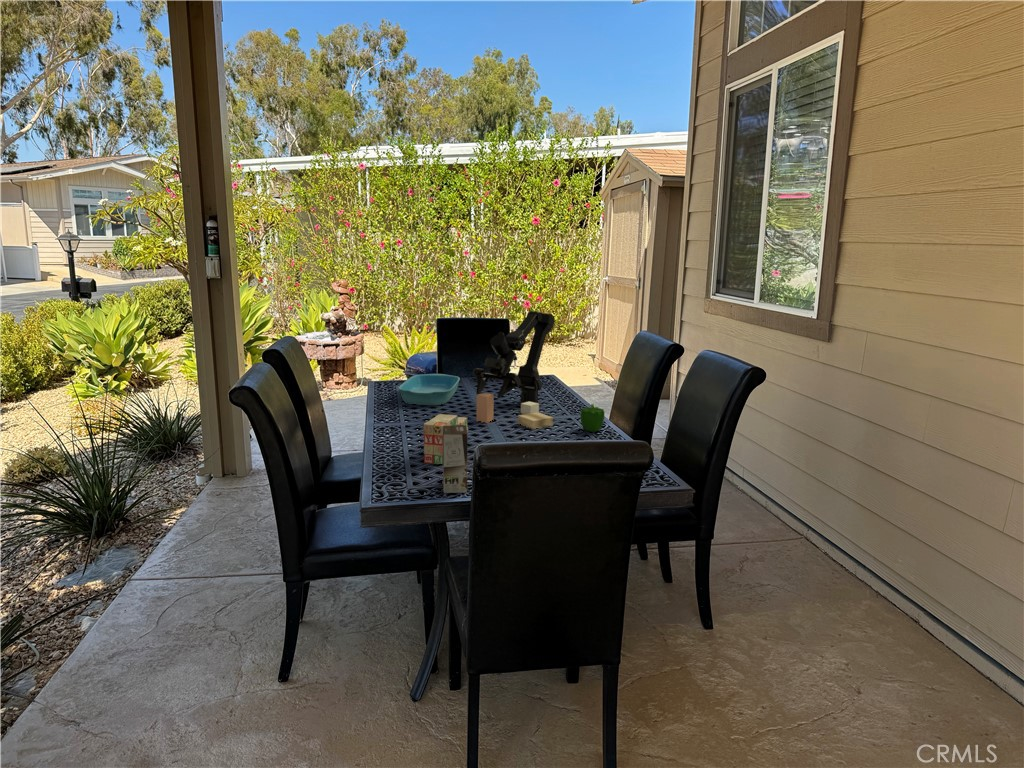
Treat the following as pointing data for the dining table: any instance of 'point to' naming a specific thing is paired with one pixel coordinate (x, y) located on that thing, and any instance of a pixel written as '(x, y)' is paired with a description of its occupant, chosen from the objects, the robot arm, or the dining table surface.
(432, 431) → the stack of blocks
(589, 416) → the bell pepper
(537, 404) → the brick
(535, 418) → the base brick
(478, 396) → the pillar brick
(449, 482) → the coffee box
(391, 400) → the dining table surface
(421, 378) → the casserole dish
